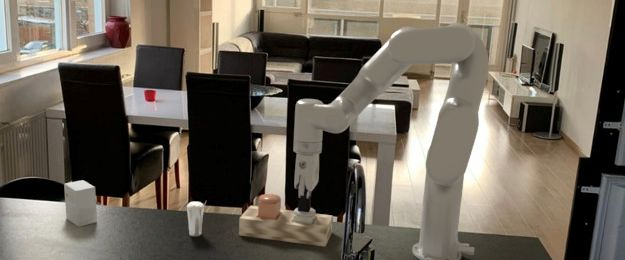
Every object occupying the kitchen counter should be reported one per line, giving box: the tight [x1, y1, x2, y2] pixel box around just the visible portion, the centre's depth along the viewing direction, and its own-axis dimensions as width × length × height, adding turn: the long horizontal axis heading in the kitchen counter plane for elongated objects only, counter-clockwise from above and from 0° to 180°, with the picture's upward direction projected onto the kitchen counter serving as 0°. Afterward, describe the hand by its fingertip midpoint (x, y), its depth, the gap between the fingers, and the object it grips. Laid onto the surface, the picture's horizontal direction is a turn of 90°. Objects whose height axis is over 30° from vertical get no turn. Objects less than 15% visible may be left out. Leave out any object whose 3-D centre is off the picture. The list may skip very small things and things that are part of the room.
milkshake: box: [186, 201, 207, 237], centre depth 165 cm, size 4×5×10 cm
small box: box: [63, 179, 98, 227], centre depth 171 cm, size 8×6×10 cm
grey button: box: [293, 207, 317, 224], centre depth 168 cm, size 6×6×6 cm
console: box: [238, 205, 334, 248], centre depth 169 cm, size 24×10×5 cm, turn 78°
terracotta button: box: [257, 193, 282, 220], centre depth 169 cm, size 6×6×6 cm
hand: (303, 210), depth 167 cm, fingers closed
